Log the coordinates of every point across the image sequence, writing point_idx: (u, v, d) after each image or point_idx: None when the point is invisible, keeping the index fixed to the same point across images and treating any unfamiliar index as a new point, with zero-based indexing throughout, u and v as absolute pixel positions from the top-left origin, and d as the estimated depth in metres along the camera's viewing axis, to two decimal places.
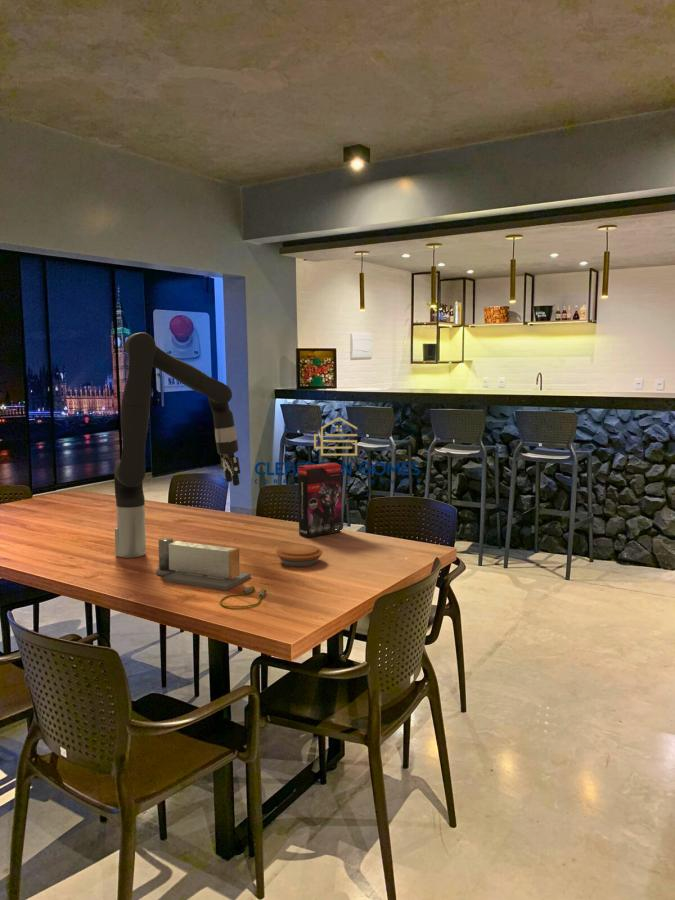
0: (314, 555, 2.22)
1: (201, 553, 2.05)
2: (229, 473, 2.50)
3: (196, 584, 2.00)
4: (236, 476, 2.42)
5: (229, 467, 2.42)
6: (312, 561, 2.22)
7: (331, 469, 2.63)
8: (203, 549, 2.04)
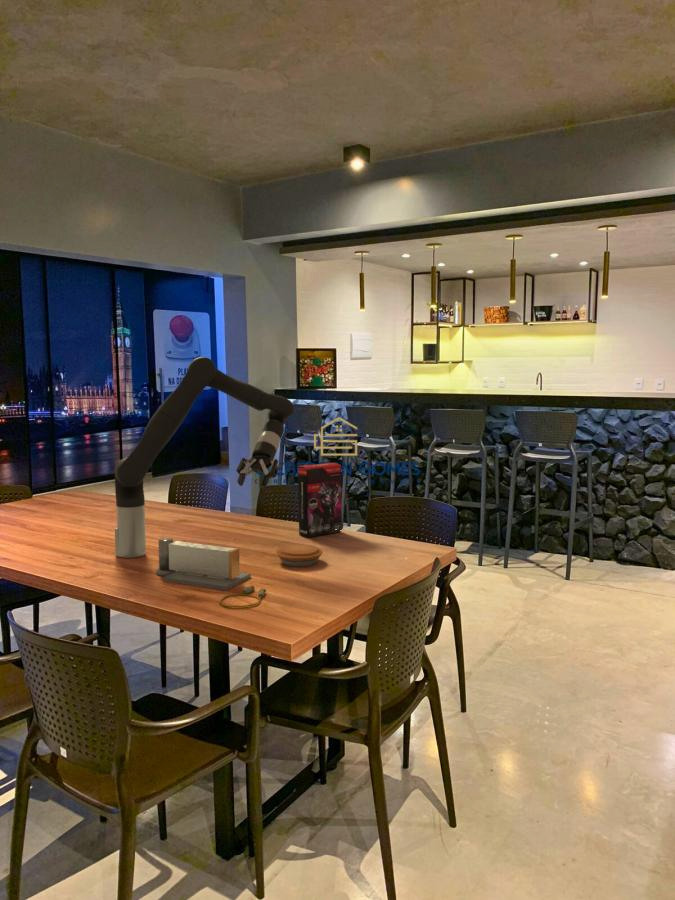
0: (314, 555, 2.22)
1: (201, 553, 2.05)
2: (244, 478, 2.30)
3: (196, 584, 2.00)
4: (268, 478, 2.27)
5: (265, 467, 2.28)
6: (312, 561, 2.22)
7: (331, 469, 2.63)
8: (203, 549, 2.04)
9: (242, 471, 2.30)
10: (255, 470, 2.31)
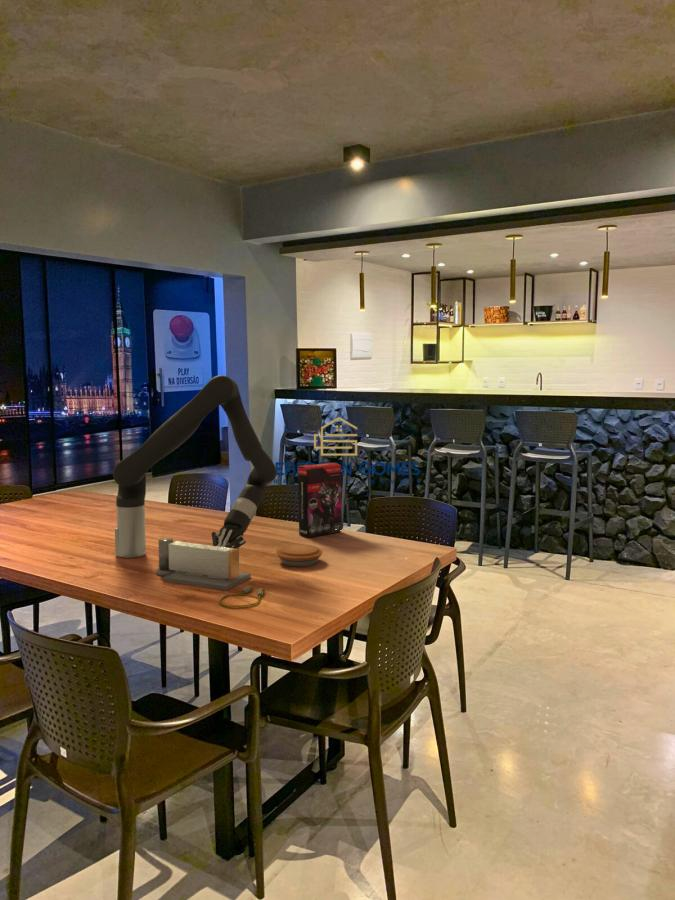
0: (314, 555, 2.22)
1: (201, 553, 2.04)
2: None
3: (196, 584, 2.00)
4: None
5: (227, 541, 2.10)
6: (312, 561, 2.22)
7: (331, 469, 2.63)
8: (203, 549, 2.04)
9: (218, 546, 2.10)
10: None
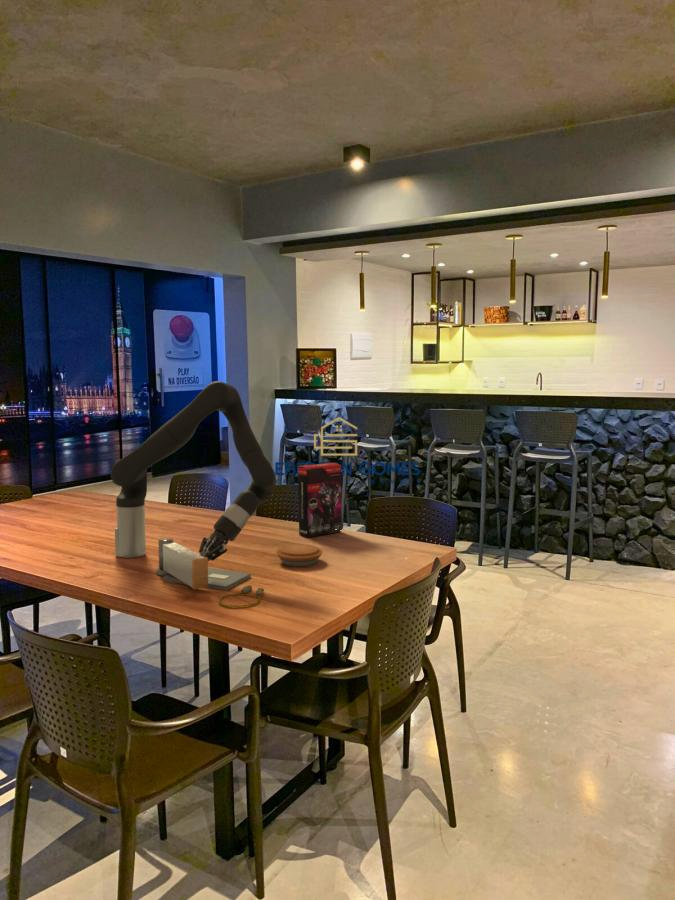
0: (314, 555, 2.22)
1: (178, 558, 1.99)
2: None
3: None
4: None
5: (209, 548, 2.01)
6: (312, 561, 2.22)
7: (331, 469, 2.63)
8: (179, 554, 1.99)
9: (202, 553, 2.02)
10: None
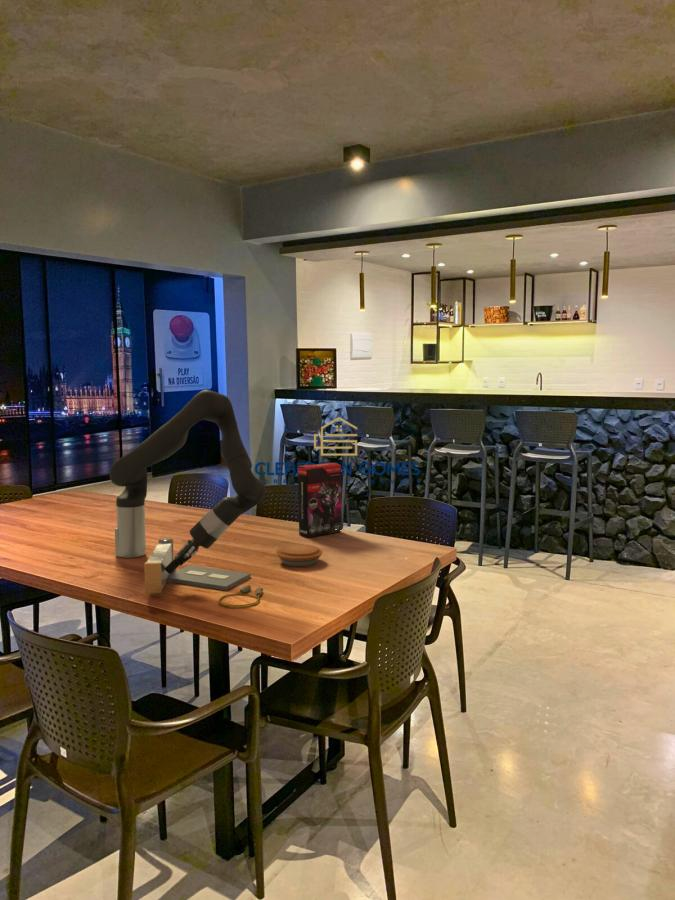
0: (314, 555, 2.22)
1: None
2: None
3: (196, 584, 2.00)
4: (175, 564, 1.95)
5: (179, 552, 1.95)
6: (312, 561, 2.22)
7: (331, 469, 2.63)
8: (151, 555, 1.97)
9: (176, 556, 1.97)
10: None
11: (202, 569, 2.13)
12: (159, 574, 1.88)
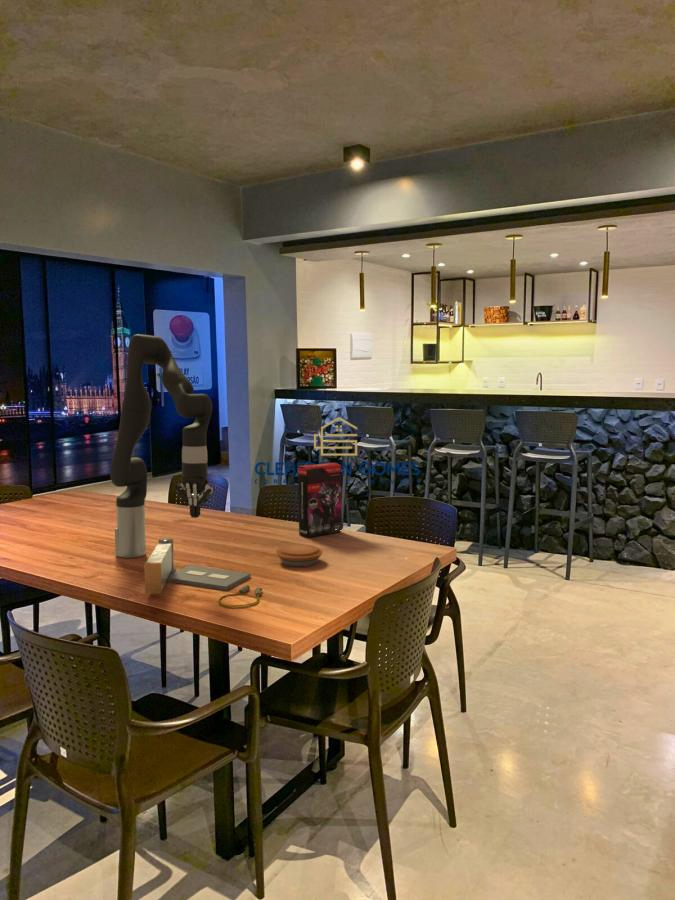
0: (314, 555, 2.22)
1: None
2: None
3: (196, 584, 2.00)
4: (199, 506, 2.06)
5: (196, 496, 2.04)
6: (312, 561, 2.22)
7: (331, 469, 2.63)
8: (151, 555, 1.97)
9: (190, 502, 2.05)
10: None
11: (202, 569, 2.13)
12: (159, 574, 1.88)
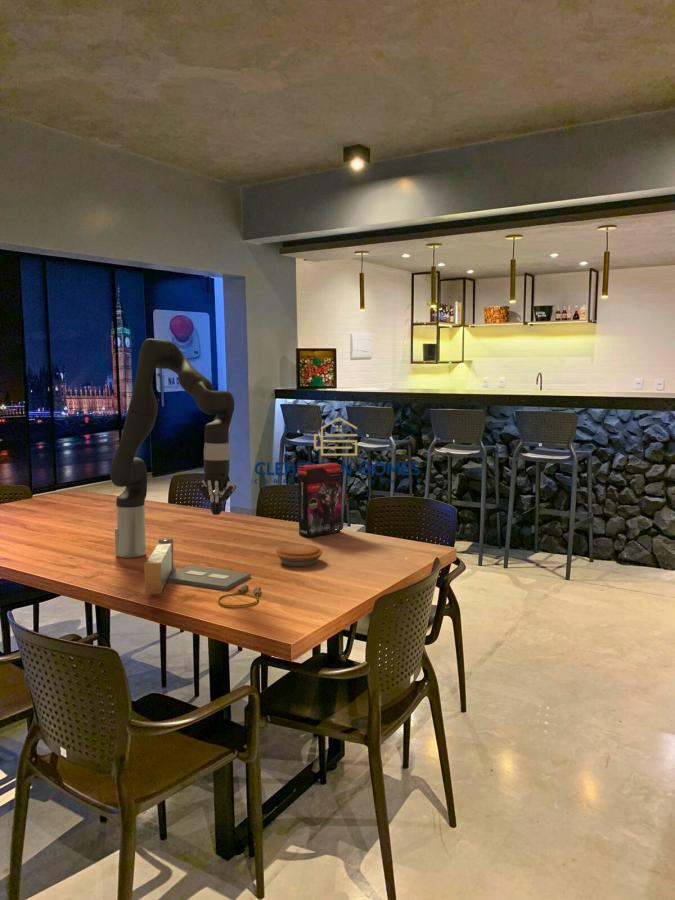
0: (314, 555, 2.22)
1: None
2: None
3: (196, 584, 2.00)
4: (220, 503, 2.05)
5: (218, 493, 2.03)
6: (312, 561, 2.22)
7: (331, 469, 2.63)
8: (151, 555, 1.97)
9: (212, 499, 2.05)
10: None
11: (202, 569, 2.13)
12: (159, 574, 1.88)
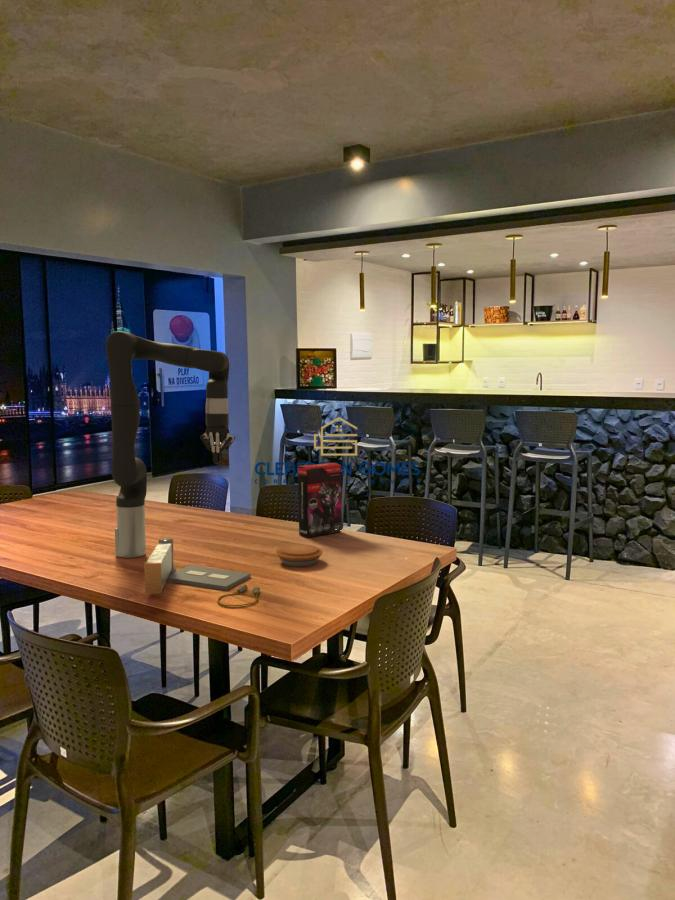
0: (314, 555, 2.22)
1: None
2: None
3: (196, 584, 2.00)
4: (221, 453, 2.28)
5: (219, 444, 2.26)
6: (312, 561, 2.22)
7: (331, 469, 2.63)
8: (151, 555, 1.97)
9: (213, 450, 2.27)
10: None
11: (202, 569, 2.13)
12: (159, 574, 1.88)
